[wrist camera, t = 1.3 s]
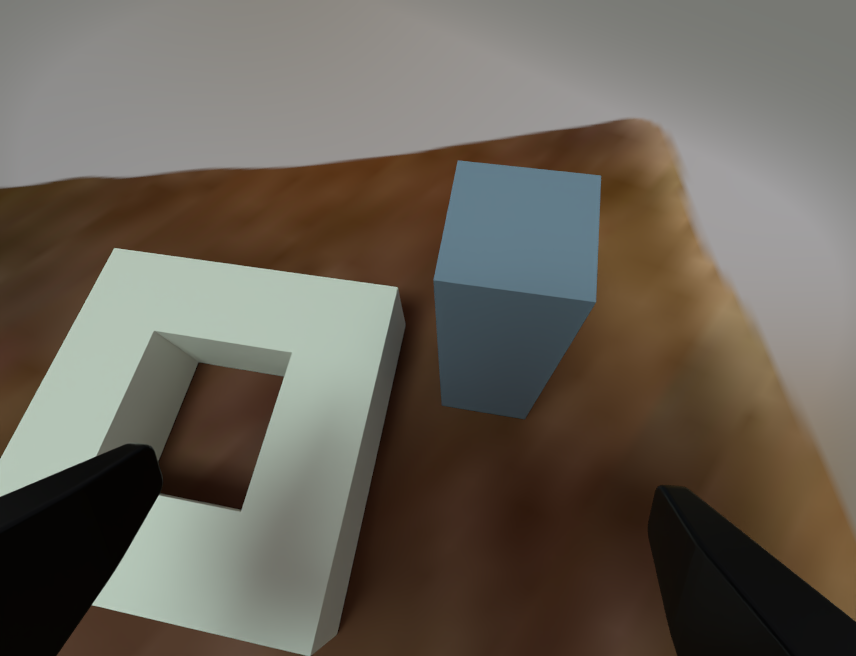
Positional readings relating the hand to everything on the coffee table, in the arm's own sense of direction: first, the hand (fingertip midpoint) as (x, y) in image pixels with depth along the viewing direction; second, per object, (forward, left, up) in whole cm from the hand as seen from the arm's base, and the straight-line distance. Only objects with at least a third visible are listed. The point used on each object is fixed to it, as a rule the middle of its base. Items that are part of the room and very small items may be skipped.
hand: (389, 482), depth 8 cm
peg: (+4, -6, -14) cm, 15 cm away
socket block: (+8, +6, -14) cm, 17 cm away
